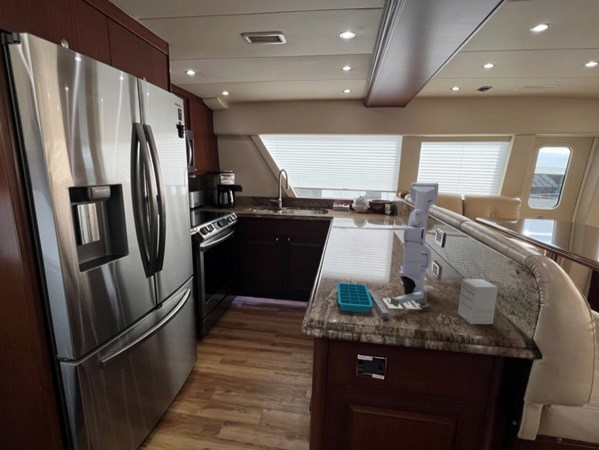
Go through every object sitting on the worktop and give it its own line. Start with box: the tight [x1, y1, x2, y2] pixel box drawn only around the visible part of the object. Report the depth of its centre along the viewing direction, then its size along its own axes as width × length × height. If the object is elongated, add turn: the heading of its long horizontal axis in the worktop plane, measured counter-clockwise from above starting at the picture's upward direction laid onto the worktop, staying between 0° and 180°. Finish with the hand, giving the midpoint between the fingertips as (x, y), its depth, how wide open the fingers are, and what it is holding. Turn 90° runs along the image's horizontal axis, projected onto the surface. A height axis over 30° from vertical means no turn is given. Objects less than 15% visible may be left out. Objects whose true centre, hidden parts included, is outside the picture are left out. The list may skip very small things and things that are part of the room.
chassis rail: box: [367, 288, 390, 319], centre depth 101 cm, size 20×2×2 cm, turn 1°
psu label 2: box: [402, 300, 422, 311], centre depth 102 cm, size 8×5×1 cm, turn 1°
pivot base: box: [415, 300, 430, 309], centre depth 102 cm, size 5×5×1 cm
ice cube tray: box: [336, 282, 374, 313], centre depth 104 cm, size 12×20×3 cm, turn 174°
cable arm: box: [390, 290, 428, 306], centre depth 98 cm, size 16×3×5 cm, turn 119°
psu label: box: [381, 298, 404, 310], centre depth 102 cm, size 8×5×1 cm, turn 1°
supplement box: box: [457, 278, 499, 325], centre depth 91 cm, size 7×7×13 cm
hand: (408, 296), depth 100 cm, fingers closed, pressing on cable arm
